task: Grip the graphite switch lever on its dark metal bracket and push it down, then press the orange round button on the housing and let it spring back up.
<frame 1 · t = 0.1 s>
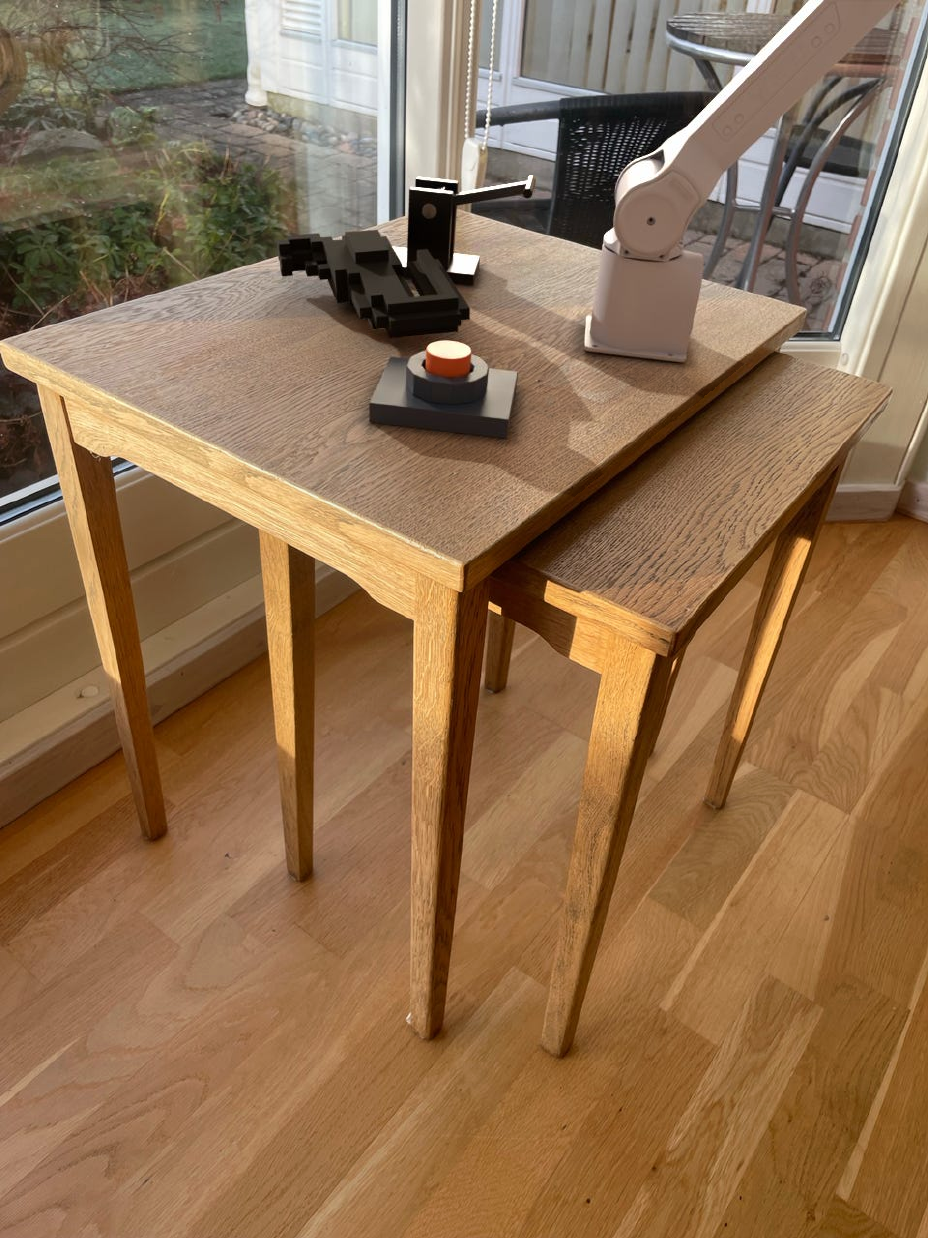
button box: (445, 405, 81), on the table
tool: (369, 310, 96), on the table, touching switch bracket
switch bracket: (430, 271, 106), on the table
start button: (448, 359, 79), point 4 cm above the table, slide at 0.1 cm
switch lever: (476, 195, 101), point 8 cm above the table, hinge at 15.0°
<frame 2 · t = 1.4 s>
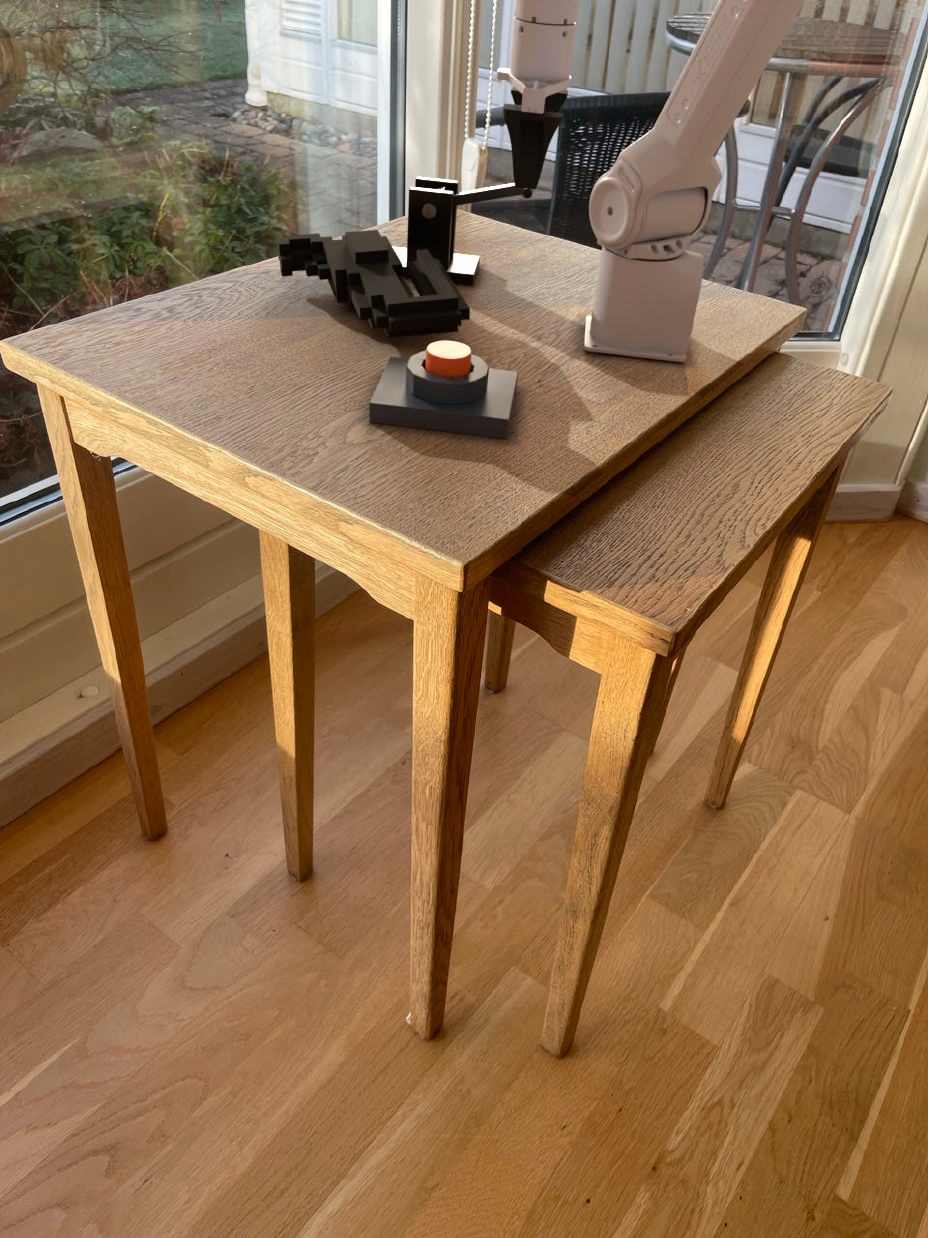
hand: (528, 176, 99), 11 cm above the table, tool pointing down, fingers open, 7 cm apart
nothing on the table moved.
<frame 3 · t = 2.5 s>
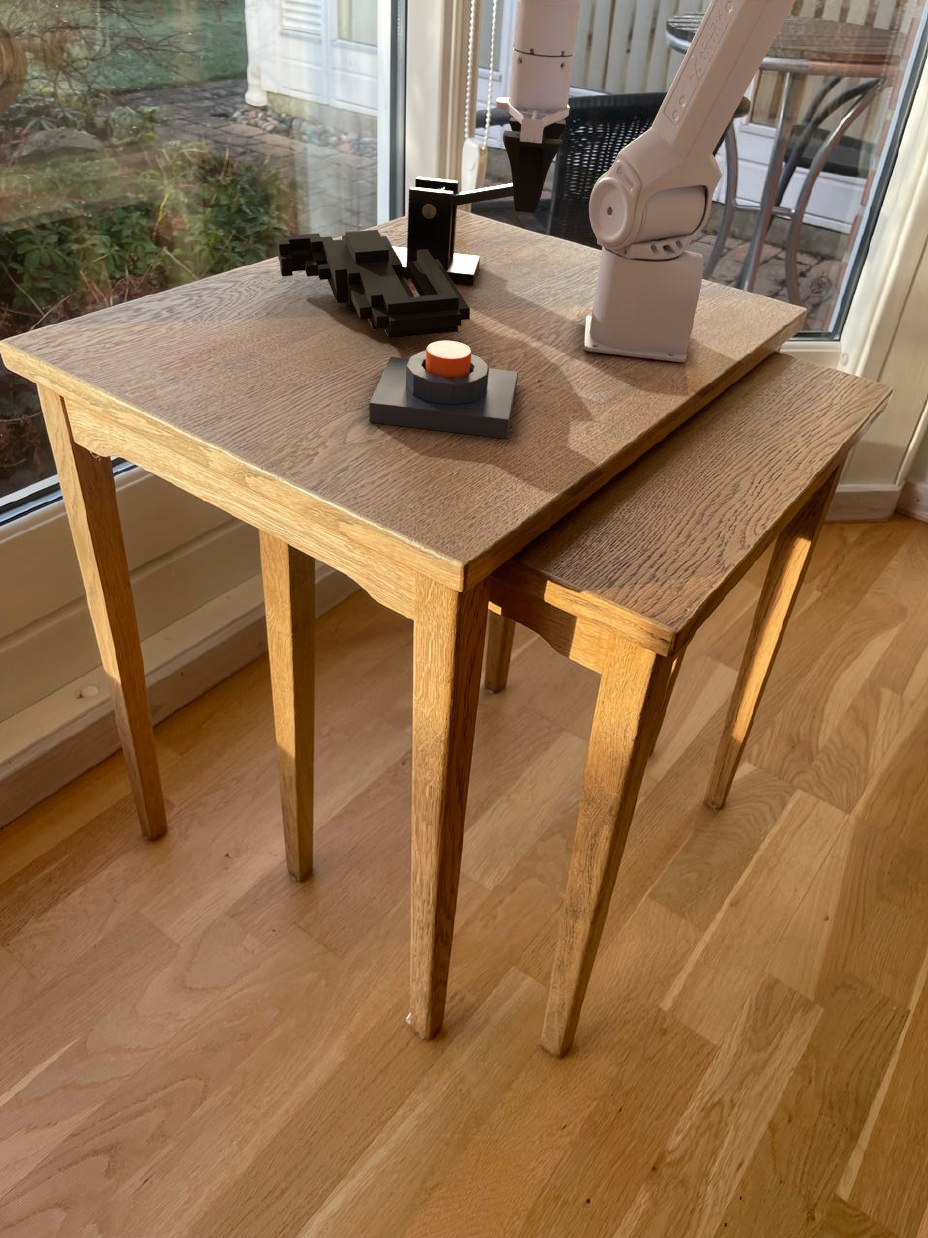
hand: (527, 202, 100), 8 cm above the table, tool pointing down, fingers closed on switch lever, 5 cm apart
switch lever: (476, 195, 101), point 8 cm above the table, hinge at 15.0°, touching gripper
everything else where it was.
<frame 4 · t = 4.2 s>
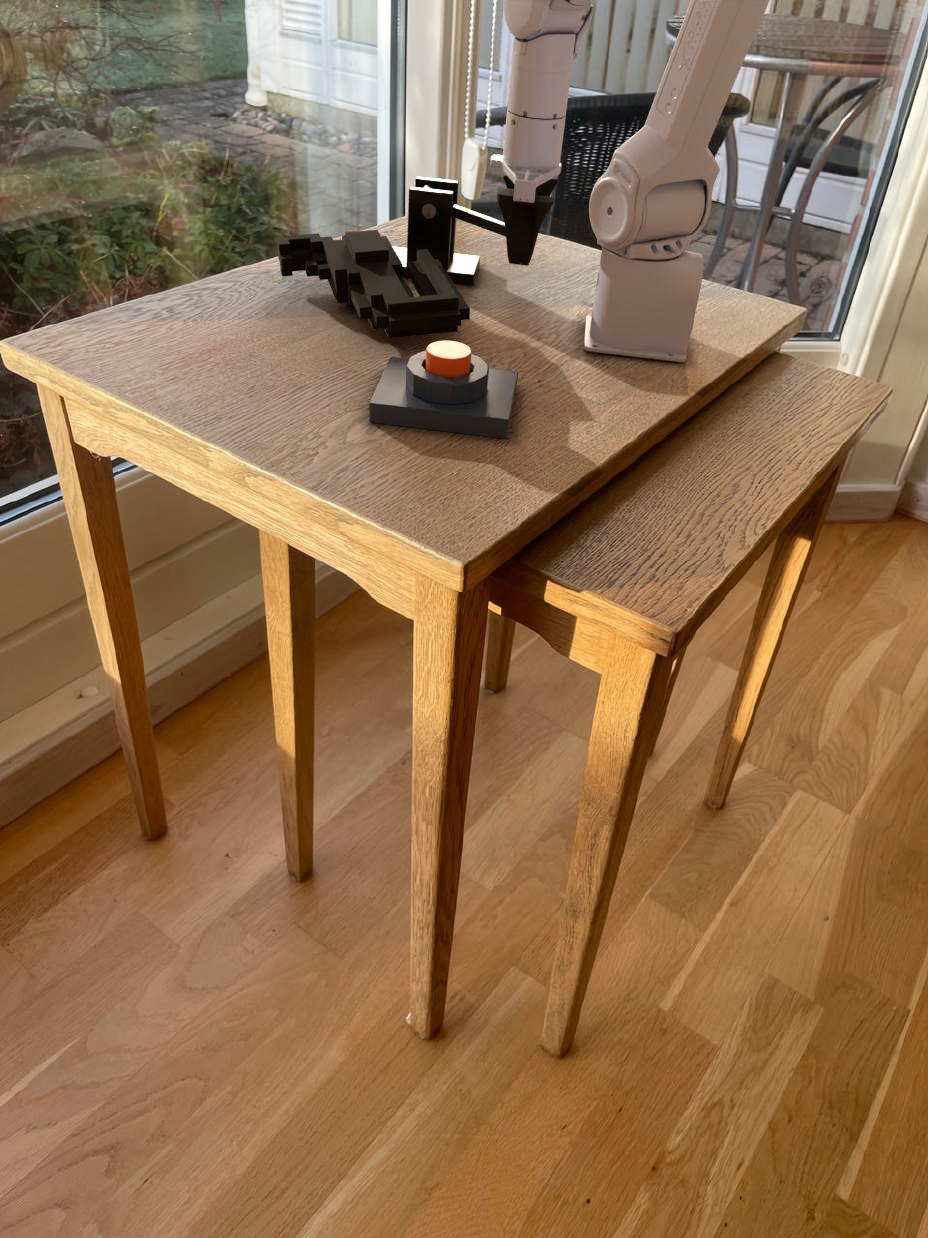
hand: (521, 254, 104), 3 cm above the table, tool pointing down, fingers closed on switch lever, 5 cm apart
switch lever: (475, 218, 102), point 6 cm above the table, hinge at -13.5°, touching gripper
everything else where it was.
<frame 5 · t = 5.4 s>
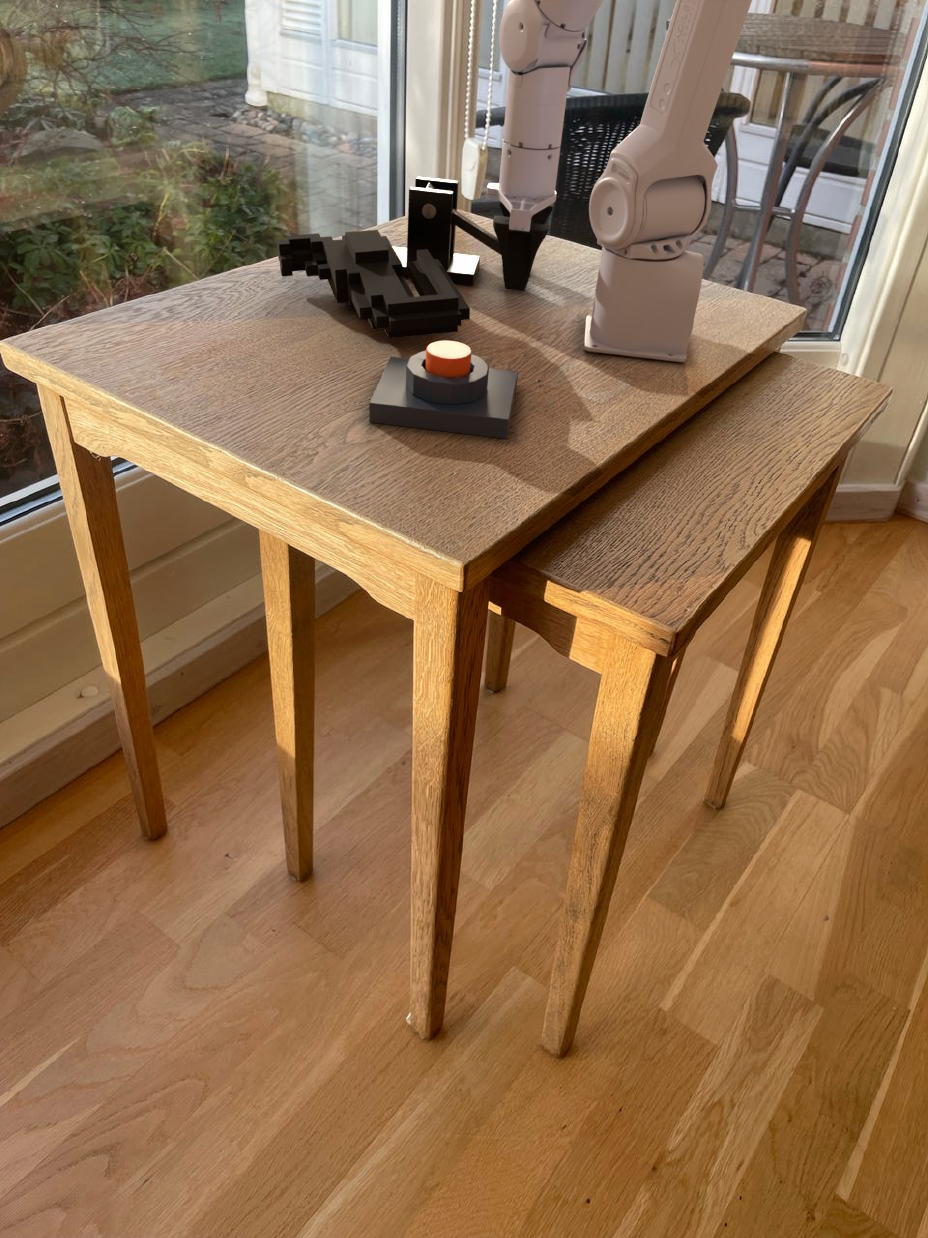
hand: (517, 279, 105), 0 cm above the table, tool pointing down, fingers closed on switch lever, 5 cm apart
switch lever: (470, 227, 103), point 5 cm above the table, hinge at -26.7°, touching gripper
everything else where it was.
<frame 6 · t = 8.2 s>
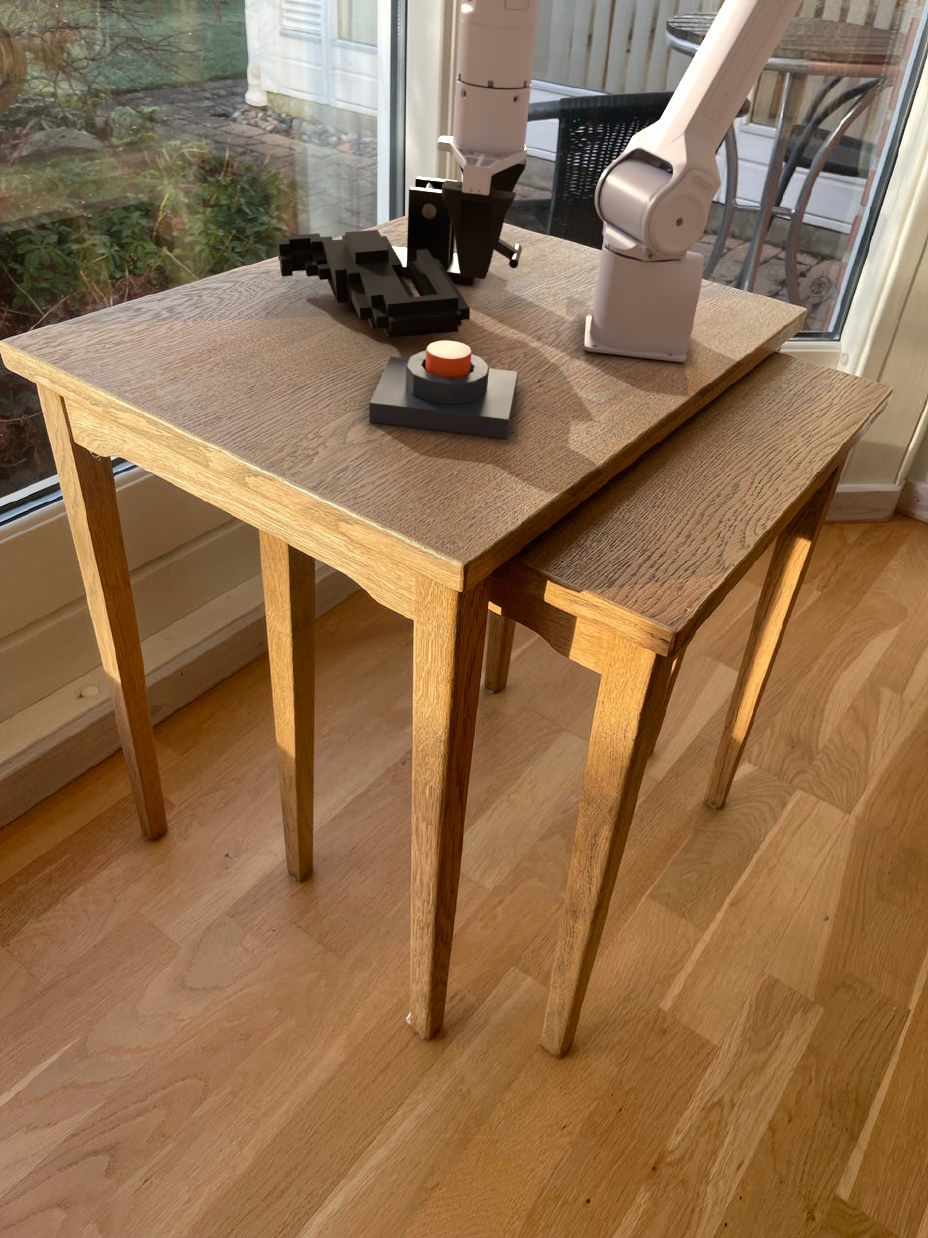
hand: (478, 261, 83), 9 cm above the table, tool pointing down, fingers open, 7 cm apart
switch lever: (471, 227, 103), point 5 cm above the table, hinge at -26.1°
everything else where it was.
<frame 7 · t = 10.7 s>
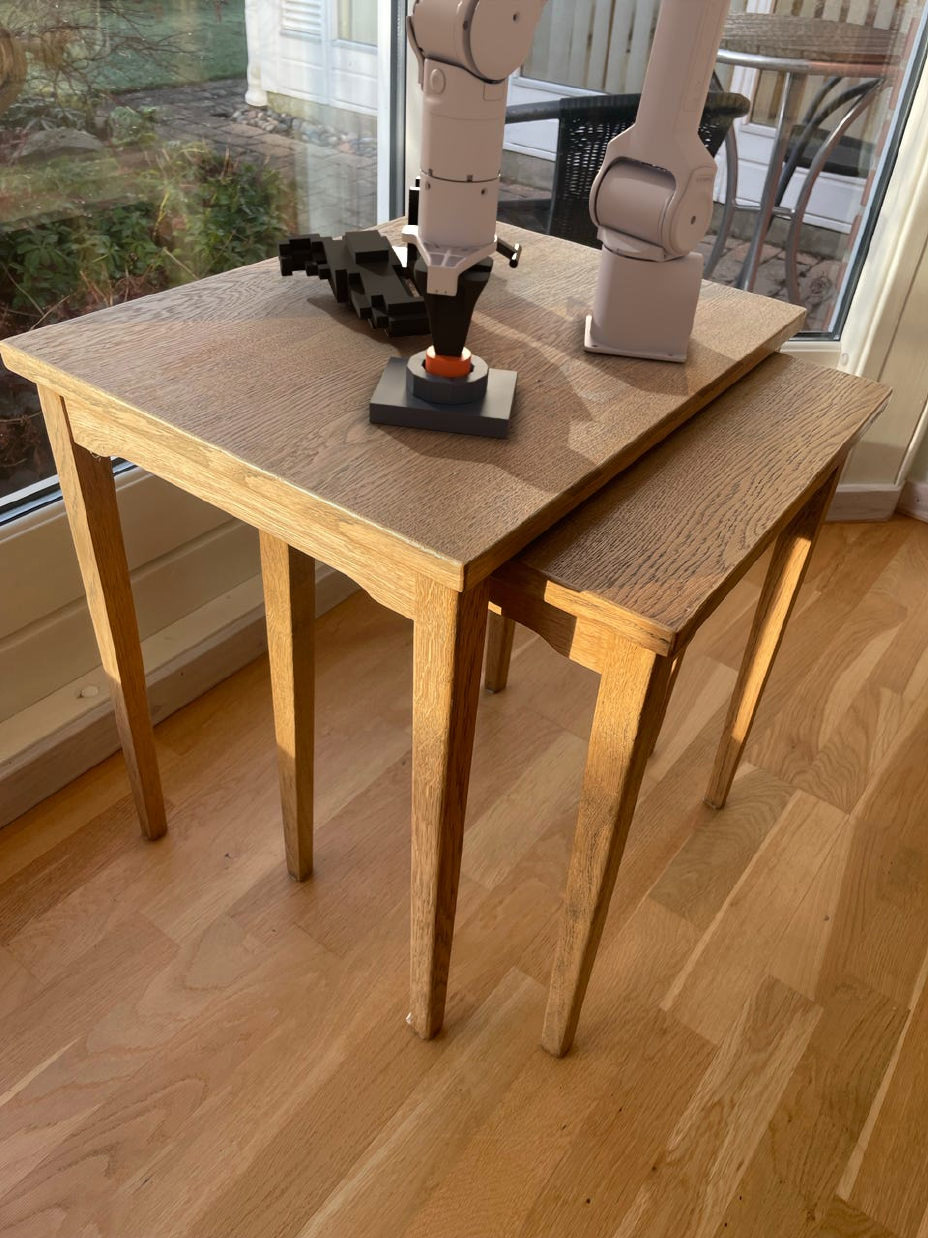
hand: (448, 352, 78), 5 cm above the table, tool pointing down, fingers closed, pressing on start button
start button: (448, 362, 79), point 4 cm above the table, slide at -0.1 cm, touching gripper
everything else where it was.
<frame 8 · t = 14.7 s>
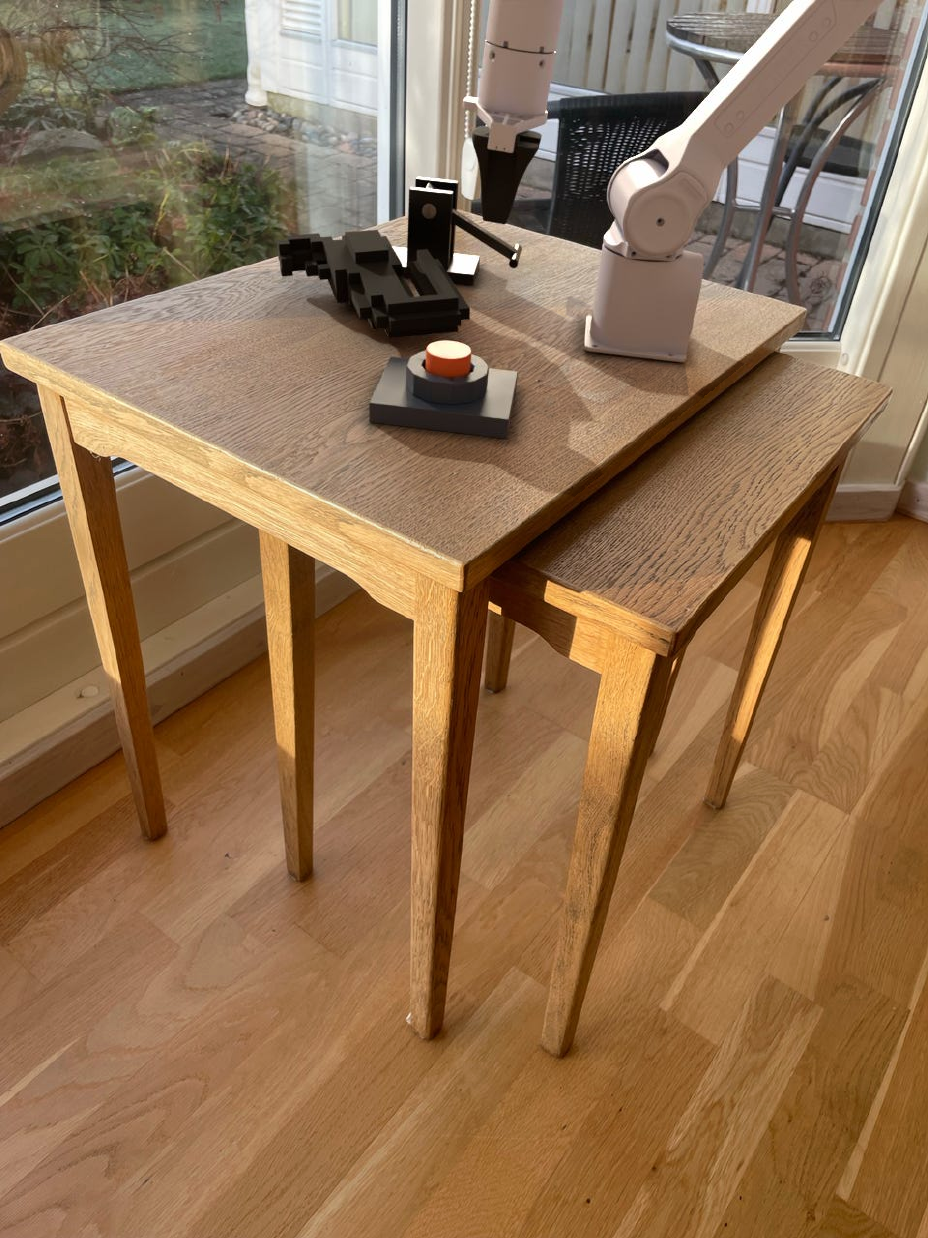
hand: (494, 220, 87), 10 cm above the table, tool pointing down, fingers closed
start button: (448, 359, 79), point 4 cm above the table, slide at 0.1 cm
everything else where it was.
at the end: switch lever at -26° (first picture: +15°); start button pushed in 1.2 cm at the most during the clip, back to where it started at the end; start button slide at 0.1 cm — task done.
